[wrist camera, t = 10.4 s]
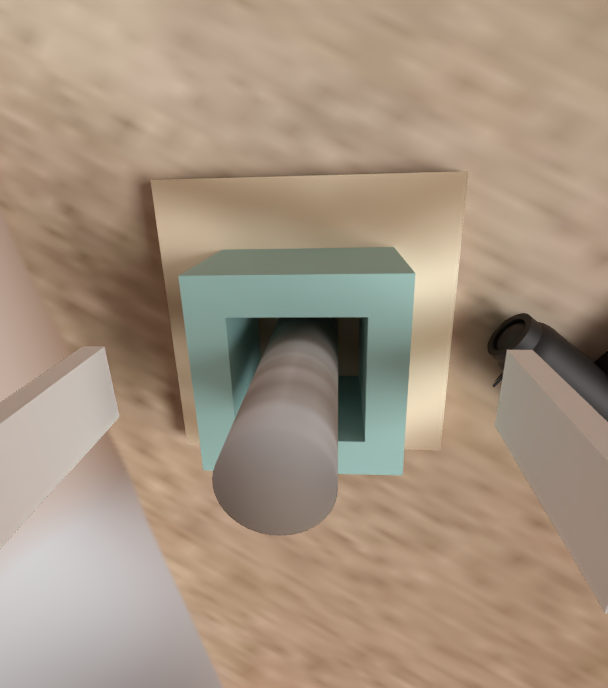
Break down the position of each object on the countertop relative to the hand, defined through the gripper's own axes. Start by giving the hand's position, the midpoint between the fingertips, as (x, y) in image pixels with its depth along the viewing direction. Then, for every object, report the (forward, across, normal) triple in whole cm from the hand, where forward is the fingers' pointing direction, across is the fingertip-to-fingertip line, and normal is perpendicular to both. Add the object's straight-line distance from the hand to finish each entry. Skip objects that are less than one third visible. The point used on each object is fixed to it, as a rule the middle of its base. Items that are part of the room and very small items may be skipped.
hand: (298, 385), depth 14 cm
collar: (+8, 0, -1) cm, 8 cm away
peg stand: (+9, 0, -1) cm, 9 cm away
